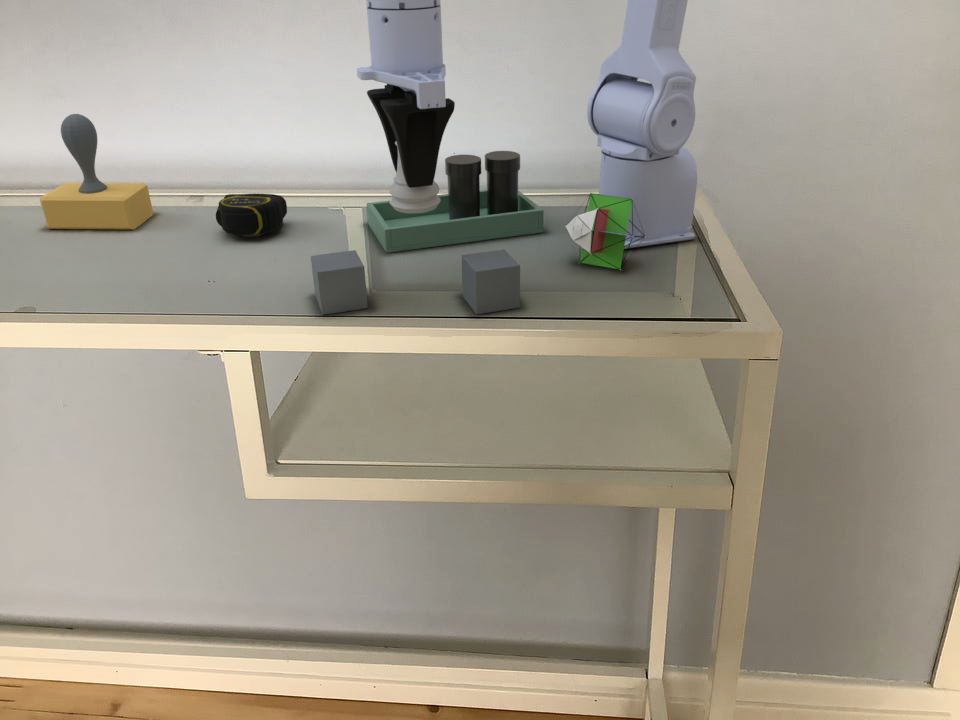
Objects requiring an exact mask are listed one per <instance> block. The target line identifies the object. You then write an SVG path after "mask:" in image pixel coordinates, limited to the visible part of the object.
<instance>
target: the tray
mask: <svg viewBox="0 0 960 720" xmlns="http://www.w3.org/2000/svg"><path fill="white" fill-rule="evenodd" d="M437 196H438V197H439V198H440V199H441V200H440V203H439V204H438V206H437V208H435V209H434V210H431V211H428V212H424V213H402V212H399V211H396V210H395V209H394V208H393V207H392V205H391V204H390V203H389V202H390V200H391V199H390V200H382V201H381V200H380V201H374V202H373V201H372V202H366V211H367V224H368V226H369V228H370V230H371V231H372V232H373V234H374V235H375V237H376V239H377V240H378V242H379V244H380V245H381V247H382V248H383V250H384V251H385V253H386V254H388V253H389V254H390V253H397V252H403V251H412V250H419V249H426V248H427V249H428V248H434V247H442V246H450V245H457V244H465V243H472V242H479V241H487V240H495V239H504V238H510V237H518V236H525V235H526V236H527V235H533V234H542V233H544V214H545V213H544V209H543V208H541V207H540V206H539V205H538V204H536V202H534V201H533V200H531V199H530V198H529V197H528V196H526V195H525V194H524V193H522V191H520V190H519V189H518V212H509V213H501V214H493V215H487V188H486V189H480V216H477V217H469V218H461V219H453V220H449V204H448V193H444V194H437Z"/></svg>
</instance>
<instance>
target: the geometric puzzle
mask: <svg viewBox="0 0 960 720" xmlns="http://www.w3.org/2000/svg"><path fill="white" fill-rule="evenodd" d="M586 199H587V202H586V206H585V209H584V212H582V213H579V214H576V215H575V214H574V215H573V216H572V218H570V220H569V221H568V222H567V224H565V225H564V228H565V229H566V232H567V234H568V236H569V238H570V241H571V242H572V243H571V244H572V246H574V244H576V245H577V246H579V248H581V250H580V257H579V258H577V259H578V260H577V261H579V262H578V264H585V265H591V266H596V267H602V268H608V269H614V270H619V271H622V268H623V266H624V265H625V264H626V263H627V261H628V260H629V259H630V257H631V255H633V253H634V252H635V251H636V249H634V250H633V252H632V253H631V254H630V255H629V257H628V259H626V256H627V254H628V252H629V249H630V248H629V247H628V248H627V249H626V252H625V254H624V250H625V249H624V247H625V246H624V244H625V240H627V239H629V238H627V239H626V236H632V237H630V238H633V237H642V238H643V239H644V237H646V236H645V235H644V234H643V233H644V232H643V233H642V232H641V231H640V230H639V229H638V228H637V227H636V226H635V225H634V224H633V206H632V222H631V221H630V220H629V215H630V209H631V203H632V201H633V198H631V199H630V198H623V197H615V196H608V195H600V194H599V193H598V194H597V193H592V192H589V195H588V196H587V197H586ZM584 202H585V201H583V202H582V204H584ZM633 204H634V203H633ZM581 206H582V205H580V207H579V208H581ZM587 207H588V208H587ZM635 209H636V208H635ZM578 210H579V209H577V211H576V212H578ZM636 212H637V211H636ZM637 215H638V214H637ZM638 218H639V217H638ZM628 221H630V222H631V223H632V234H630V233H629V232H627V227H628ZM639 221H640V220H639ZM640 224H641V223H640ZM633 225H634V226H635V227H636V228H637V229H638V230H639V231H640V232H641V233H642V234H643V235H644V236H638V235H633ZM641 227H642V226H641ZM642 230H643V229H642ZM626 233H629V234H626ZM642 238H640V239H642ZM640 239H638V240H640ZM638 240H636V241H638ZM631 241H632V239H631ZM636 241H634V242H636ZM634 242H632V243H634ZM573 243H574V244H573ZM632 243H631V242H630V244H632ZM640 243H641V242H640ZM630 244H628V245H629V246H630ZM626 246H627V245H626ZM636 248H639V247H638V246H637V247H636ZM573 249H574V251H576V250H575V248H573ZM575 254H576V256H578V255H577V253H575ZM623 256H624V257H623ZM625 260H626V261H625Z"/></svg>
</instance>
